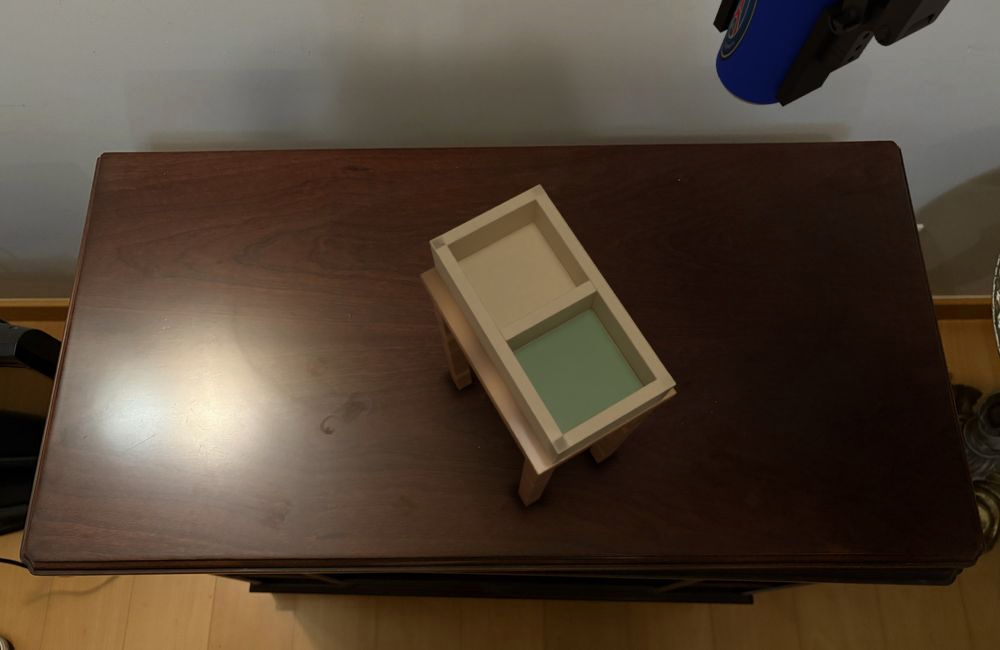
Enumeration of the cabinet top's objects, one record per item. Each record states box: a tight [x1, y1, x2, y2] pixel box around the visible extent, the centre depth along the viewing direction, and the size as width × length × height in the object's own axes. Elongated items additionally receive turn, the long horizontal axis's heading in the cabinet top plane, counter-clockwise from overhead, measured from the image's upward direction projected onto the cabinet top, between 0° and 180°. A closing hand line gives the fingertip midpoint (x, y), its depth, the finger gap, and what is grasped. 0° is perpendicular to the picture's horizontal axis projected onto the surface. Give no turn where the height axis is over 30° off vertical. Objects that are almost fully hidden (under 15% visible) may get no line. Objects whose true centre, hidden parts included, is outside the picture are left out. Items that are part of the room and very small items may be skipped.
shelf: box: [419, 266, 677, 507], centre depth 57 cm, size 15×10×26 cm, turn 30°
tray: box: [429, 184, 677, 464], centre depth 43 cm, size 15×8×4 cm, turn 30°
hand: (766, 54), depth 40 cm, fingers closed on beverage can, 5 cm apart
